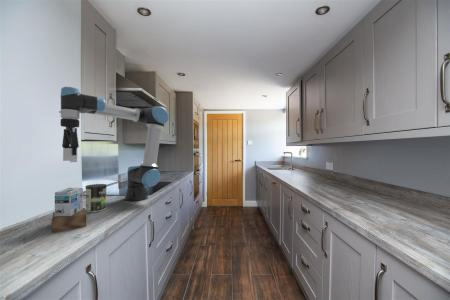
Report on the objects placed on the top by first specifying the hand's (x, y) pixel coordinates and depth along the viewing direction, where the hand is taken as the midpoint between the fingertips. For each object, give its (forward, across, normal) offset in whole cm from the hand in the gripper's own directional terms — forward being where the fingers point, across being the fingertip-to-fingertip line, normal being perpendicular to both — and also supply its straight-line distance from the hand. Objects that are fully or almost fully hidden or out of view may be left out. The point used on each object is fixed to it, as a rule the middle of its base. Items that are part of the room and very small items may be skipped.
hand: (69, 161), depth 102 cm
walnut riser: (+29, +10, -2) cm, 31 cm away
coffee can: (+29, -7, +14) cm, 33 cm away
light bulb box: (+23, +10, -2) cm, 25 cm away
